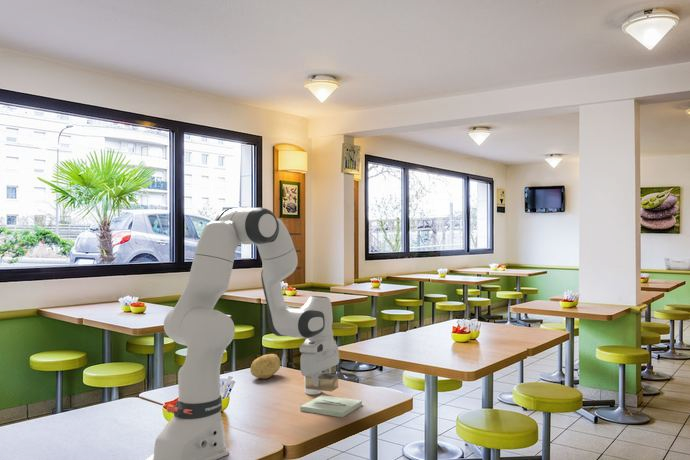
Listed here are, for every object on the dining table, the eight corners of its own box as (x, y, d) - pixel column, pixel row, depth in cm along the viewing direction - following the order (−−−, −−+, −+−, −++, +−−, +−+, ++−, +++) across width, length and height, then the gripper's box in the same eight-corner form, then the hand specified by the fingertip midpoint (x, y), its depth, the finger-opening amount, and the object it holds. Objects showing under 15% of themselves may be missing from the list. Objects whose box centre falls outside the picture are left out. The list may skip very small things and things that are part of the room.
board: (342, 417, 177) (342, 412, 177) (300, 410, 185) (300, 406, 185) (362, 405, 190) (361, 400, 190) (321, 399, 197) (321, 394, 197)
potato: (286, 377, 229) (285, 354, 230) (254, 383, 221) (254, 359, 221) (274, 372, 238) (274, 350, 238) (243, 378, 229) (243, 355, 229)
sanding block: (331, 391, 185) (330, 378, 185) (305, 388, 189) (305, 375, 189) (338, 387, 189) (337, 374, 189) (313, 384, 194) (312, 371, 194)
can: (302, 391, 207) (301, 359, 207) (318, 389, 210) (317, 357, 210) (308, 396, 201) (307, 363, 201) (324, 393, 204) (324, 361, 204)
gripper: (327, 336, 200) (328, 374, 200) (296, 348, 182) (297, 390, 182) (342, 337, 197) (344, 376, 197) (313, 349, 179) (314, 392, 179)
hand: (321, 383), depth 189 cm, fingers closed on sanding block, 5 cm apart
